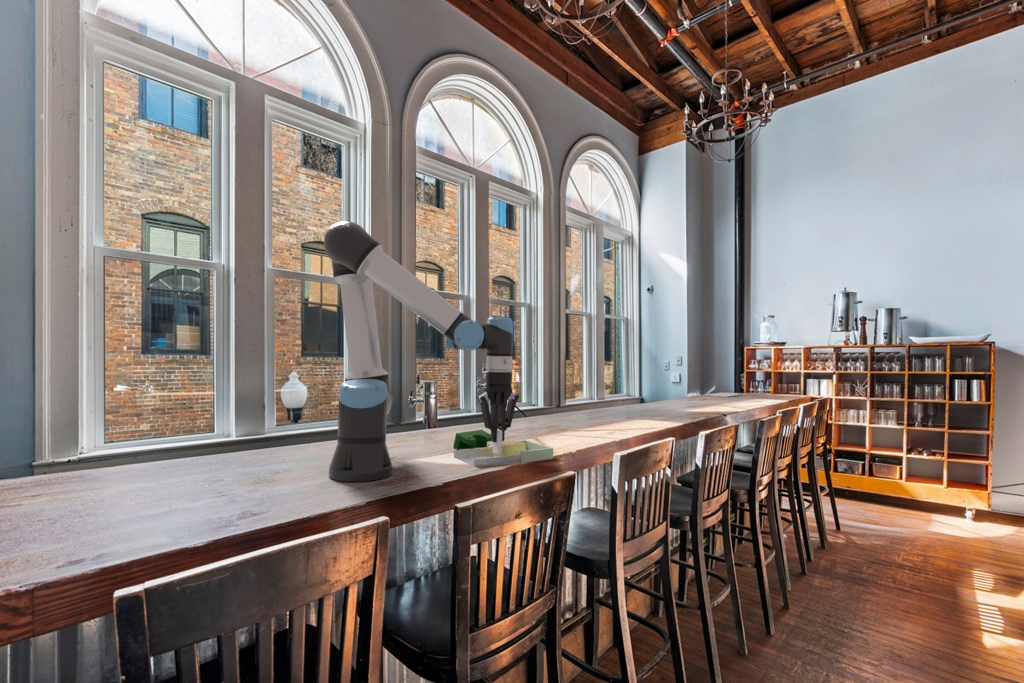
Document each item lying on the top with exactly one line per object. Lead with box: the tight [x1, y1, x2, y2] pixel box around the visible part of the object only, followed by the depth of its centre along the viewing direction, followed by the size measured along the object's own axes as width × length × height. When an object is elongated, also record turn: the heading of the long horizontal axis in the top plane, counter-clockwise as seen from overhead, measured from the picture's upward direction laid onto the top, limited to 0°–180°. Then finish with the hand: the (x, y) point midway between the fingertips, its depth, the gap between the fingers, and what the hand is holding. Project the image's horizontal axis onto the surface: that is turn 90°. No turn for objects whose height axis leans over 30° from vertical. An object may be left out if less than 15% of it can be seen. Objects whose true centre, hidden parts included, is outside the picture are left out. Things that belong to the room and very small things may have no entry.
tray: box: [508, 439, 554, 463], centre depth 150 cm, size 11×14×4 cm
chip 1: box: [495, 441, 514, 457], centre depth 147 cm, size 4×4×4 cm
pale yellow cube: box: [508, 440, 526, 455], centre depth 149 cm, size 4×4×4 cm
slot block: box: [453, 446, 521, 468], centre depth 143 cm, size 14×13×3 cm
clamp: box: [453, 429, 492, 450], centre depth 159 cm, size 12×6×9 cm, turn 132°
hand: (497, 452), depth 145 cm, fingers closed
